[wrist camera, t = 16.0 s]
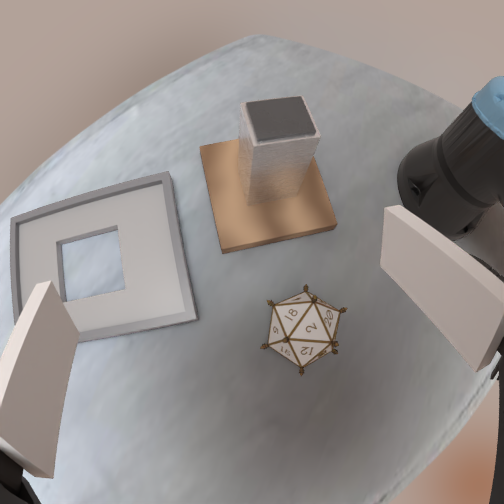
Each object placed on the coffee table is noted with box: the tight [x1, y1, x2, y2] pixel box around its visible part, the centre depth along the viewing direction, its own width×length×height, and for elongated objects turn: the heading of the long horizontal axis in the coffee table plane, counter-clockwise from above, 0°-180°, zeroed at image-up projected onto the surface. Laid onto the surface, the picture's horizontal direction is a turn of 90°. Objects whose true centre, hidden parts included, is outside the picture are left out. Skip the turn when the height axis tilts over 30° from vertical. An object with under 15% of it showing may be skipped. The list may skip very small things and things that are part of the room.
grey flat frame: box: [10, 171, 199, 343], centre depth 36 cm, size 24×18×2 cm
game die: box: [261, 284, 347, 376], centre depth 33 cm, size 9×8×10 cm
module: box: [238, 96, 321, 206], centre depth 33 cm, size 6×5×13 cm
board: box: [200, 139, 337, 254], centre depth 40 cm, size 14×14×2 cm
